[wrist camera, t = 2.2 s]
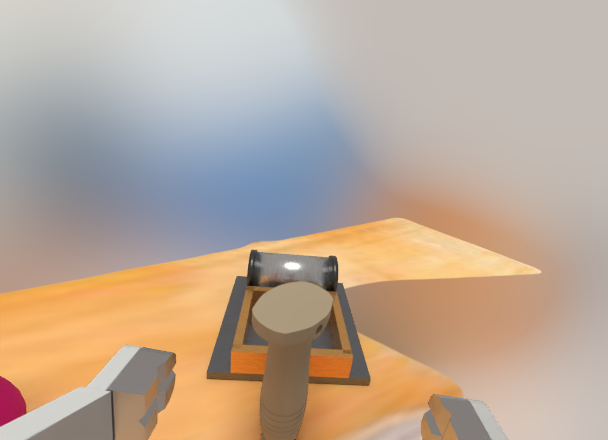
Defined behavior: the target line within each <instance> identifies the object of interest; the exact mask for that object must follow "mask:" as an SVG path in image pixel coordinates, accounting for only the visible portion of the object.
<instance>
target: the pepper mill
mask: <svg viewBox="0 0 608 440" xmlns="http://www.w3.org/2000/svg"><path fill="white" fill-rule="evenodd" d="M25 414H26V403H25V401H24V399H23V397H22V395H21V393H20V391H19V389H17V388H16V387H15V386H14V385H13V384H12V383H11V382H10V381H8V380H6V379H5V378H3V377H1V376H0V427H1V426H3V425H5V424H7V423H9V422H11V421H13V420H15V419H17V418H19V417H21V416H23V415H25Z"/></svg>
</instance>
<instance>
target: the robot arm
mask: <svg viewBox="0 0 608 440" xmlns="http://www.w3.org/2000/svg"><path fill="white" fill-rule="evenodd" d="M175 364H176V354H175V353H172V352H167V351H161V350H156V349H150V348H145V347H138V346H132V345H125V346H123V347H122V348H121V349H120V350H119V351H118V352H117V353H116V354H115V356H114V357H113V358H112V359H111V360H110V361H109V362H108V363H107V364H106V366H105V367H104V368H103V369H102V370H101V371H100V372H99V373H98V374H97V376H96V377H95V378H94V379H93V380H92V381H91V382H90V383H89V384H88V386H87V387H79V388H77V389H75V390H73V391H71V392H69V393H67V394H65V395H63V396H61V397H59V398H57V399H55V400H53V401H51V402H49V403H47V404H45V405H43V406H41V407H39V408H37V409H35V410H33V411H31V412H29V413H27V414H25V415H23V416H21V417H19V418H17V419H15V420H13V421H11V422H9V423H7V424H5V425H3V426H1V427H0V440H148V439H149V437H150V435H151V433H152V432H153V430H154V428H155V426H156V424H157V415H158V413H159V412H161V411H162V410H164V409H165V408H166V406H167V404H168V402H169V400H170V397H171V395H172V392H173V389H174V384H175V375H176V374H175V373H174V372H173V370H172V369H173V367H174V365H175ZM428 404H429V406H430V410H429V411H428V412H426V413H425V414H424V416H423V419H422V422H421V433H422V439H423V440H508V439H507V437H506V435H505V434H504V432H503V431H502V429H501V427H500V426H499V424H498V423H497V421H496V419H495V418H494V416H493V415H492V413H491V412H490V410H489V409H488V407H487V405H486V404H485V403H484V402H482V401H478V400H471V399H464V398H457V397H451V396H444V395H437V394H433V395H432V396H431V397H430V400H429V402H428Z"/></svg>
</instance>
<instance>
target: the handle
mask: <svg viewBox="0 0 608 440" xmlns="http://www.w3.org/2000/svg"><path fill="white" fill-rule="evenodd" d="M332 305H333V298H332V296H331V295H330V294H329V293H328V292H327V291H326V290H324V289H323V288H321V287H319V286H317V285H315V284H312V283H309V282H304V281H299V282H292V283H286V284H282V285H279V286H277V287H275V288H273V289H271V290H270V291H268V292H266V293H265V294H263V295H262V296H261V297H260V298H259V300H258V301H257V302H256V304H255V305H254V307H253V308H252V325H253V328H254V330H255V332H256V333H257V334H258V335H259V336H260V337H261V338H262V339H264V340H265V341H267V342H269V344H268V351H267V358H266V364H265V370H264V376H263V382H262V388H261V397H260V424H261V430H262V433H261V440H296V439H295V438H296V437H297V434H298V432H299V430H300V427H301V424H302V420H303V416H304V412H305V407H306V401H307V394H308V380H309V366H310V354H311V343H312V341H313V340H315V339H317V338H318V337H319V336H320V335H321V334H322V332H323V330H324V329H325V327H326V326H327V323H328V321H329V317H330V314H331V310H332Z"/></svg>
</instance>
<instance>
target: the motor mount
mask: <svg viewBox="0 0 608 440" xmlns="http://www.w3.org/2000/svg"><path fill="white" fill-rule="evenodd" d="M299 281H304V282H309V283H312V284H315V285H317V286H319V287H321V288H323V289H324V290H326V291H327V292H328V293H329V294H330V295H331V296H332V298H333V305H332V310H331V314H330V317H329V321H328V323H327V326H326V327H325V329H324V330H323V332H322V334H321V335H320V336H319V337H318V338H317V339H315V340H313V341H312V343H311V354H310V366H309V380H308V383H323V384H347V385H369V383H370V375H369V372H368V368H367V365H366V362H365V358H364V355H363V351H362V348H361V345H360V341H359V338H358V334H357V331H356V328H355V324H354V321H353V317H352V314H351V311H350V307H349V304H348V300H347V297H346V294H345V290H344V287H343V283H338V262H337V258H336V256H329V257H316V256H303V255H290V254H277V253H264V252H257V250H251V253H250V258H249V265H248V274H247V277H243V276H237V277H236V280H235V284H234V287H233V290H232V293H231V296H230V300H229V303H228V306H227V309H226V312H225V316H224V319H223V322H222V325H221V328H220V332H219V335H218V338H217V341H216V344H215V348H214V351H213V354H212V357H211V360H210V364H209V367H208V370H207V379H226V380H250V381H263V376H264V370H265V364H266V358H267V351H268V344H269V342H267V341H265V340H264V339H262V338H261V337H260V336H259V335H258V334H257V333H256V332H255V330H254V328H253V325H252V308H253V307H254V305H255V304H256V302H257V301H258V300H259V298H260V297H261V296H262V295H263V294H265V293H266V292H268V291H270V290H271V289H273V288H275V287H277V286H279V285H282V284H286V283H292V282H299Z"/></svg>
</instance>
